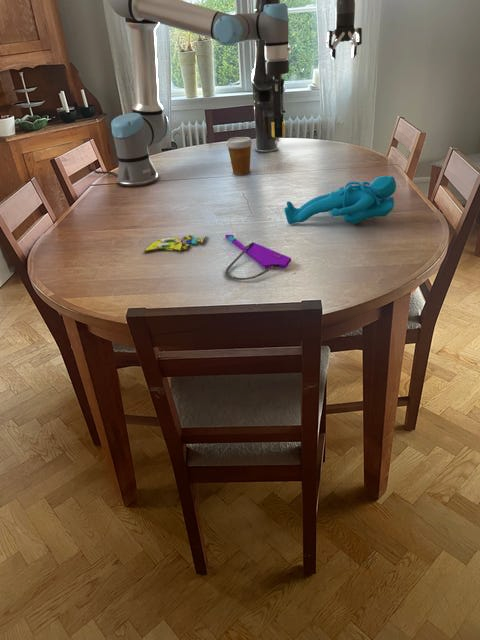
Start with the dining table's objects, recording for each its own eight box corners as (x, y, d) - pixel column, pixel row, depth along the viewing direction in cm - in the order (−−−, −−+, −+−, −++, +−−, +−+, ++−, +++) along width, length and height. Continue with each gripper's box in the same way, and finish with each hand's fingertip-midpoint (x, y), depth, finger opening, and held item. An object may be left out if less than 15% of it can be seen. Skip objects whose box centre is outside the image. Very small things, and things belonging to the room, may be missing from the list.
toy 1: (199, 248, 125) (143, 249, 127) (199, 251, 125) (144, 252, 127) (206, 233, 133) (154, 234, 135) (206, 236, 133) (154, 237, 136)
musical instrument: (267, 291, 107) (306, 245, 119) (265, 283, 105) (305, 238, 118) (184, 277, 119) (226, 237, 132) (181, 270, 118) (225, 230, 130)
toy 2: (287, 190, 142) (392, 164, 132) (296, 223, 147) (398, 200, 137) (279, 211, 128) (396, 183, 118) (290, 247, 133) (402, 223, 123)
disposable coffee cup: (225, 175, 181) (222, 142, 175) (234, 168, 188) (232, 136, 182) (248, 176, 178) (246, 143, 171) (257, 169, 185) (255, 136, 178)
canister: (269, 137, 168) (269, 123, 166) (275, 134, 171) (274, 121, 169) (281, 137, 166) (281, 124, 164) (287, 134, 169) (287, 121, 167)
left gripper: (287, 62, 148) (288, 140, 161) (290, 56, 162) (291, 129, 175) (262, 63, 149) (266, 141, 162) (268, 58, 164) (270, 130, 176)
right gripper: (331, 13, 186) (330, 60, 195) (366, 10, 188) (363, 57, 196) (324, 13, 192) (324, 59, 201) (358, 10, 194) (356, 56, 203)
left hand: (279, 135), depth 168 cm, fingers closed on canister, 5 cm apart
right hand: (343, 58), depth 199 cm, fingers open, 8 cm apart
